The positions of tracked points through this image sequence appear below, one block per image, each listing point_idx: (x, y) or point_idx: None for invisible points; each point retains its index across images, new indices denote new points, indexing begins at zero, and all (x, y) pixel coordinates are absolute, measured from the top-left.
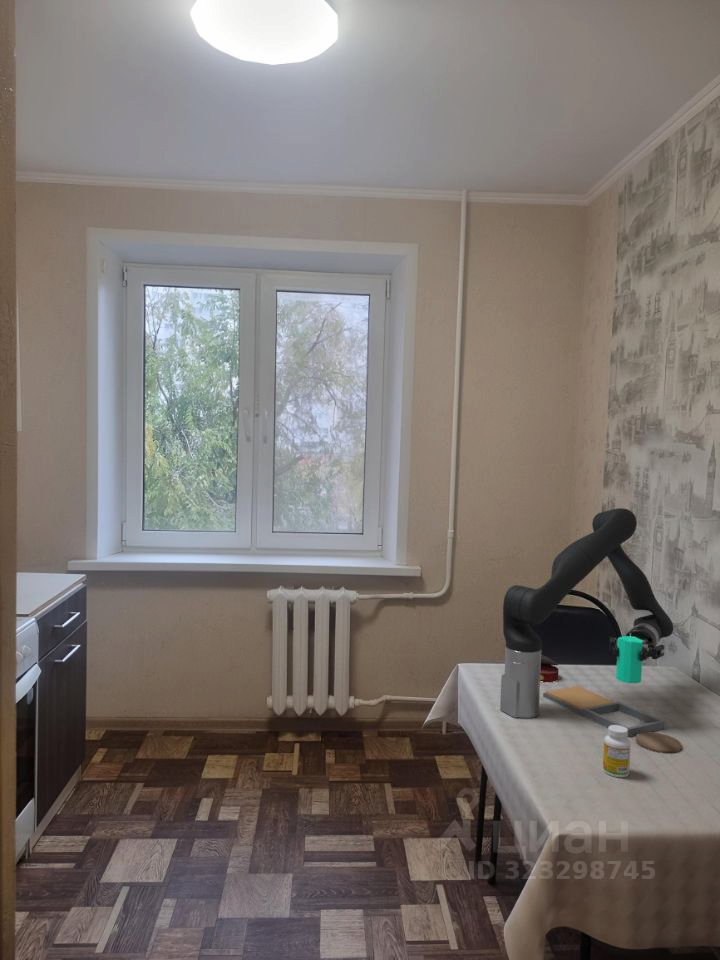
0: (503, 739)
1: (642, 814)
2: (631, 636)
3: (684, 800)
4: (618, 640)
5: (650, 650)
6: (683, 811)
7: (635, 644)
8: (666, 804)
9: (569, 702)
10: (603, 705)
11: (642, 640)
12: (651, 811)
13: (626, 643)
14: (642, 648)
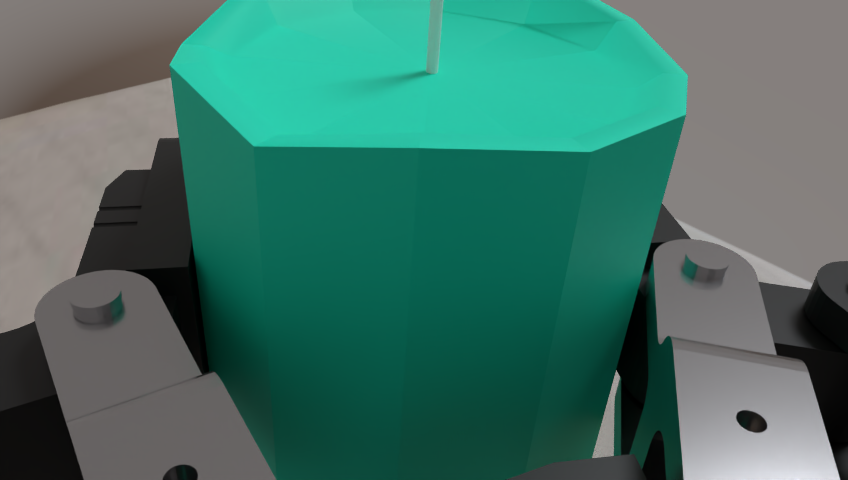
0: (685, 228)
1: (140, 118)
2: (522, 148)
3: (13, 198)
4: (590, 32)
5: (14, 389)
6: (25, 160)
7: (281, 17)
8: (74, 165)
9: None
10: None
11: (176, 59)
12: (118, 132)
13: (417, 4)
14: (192, 241)
